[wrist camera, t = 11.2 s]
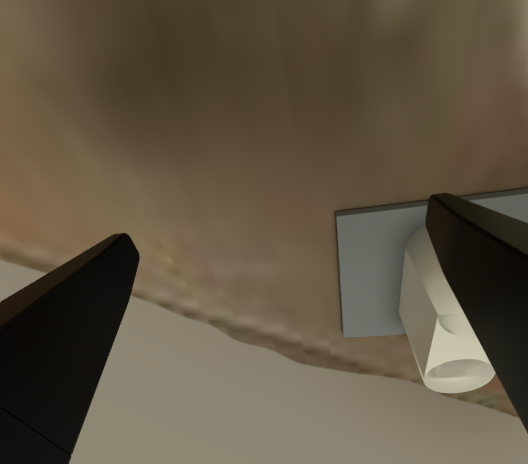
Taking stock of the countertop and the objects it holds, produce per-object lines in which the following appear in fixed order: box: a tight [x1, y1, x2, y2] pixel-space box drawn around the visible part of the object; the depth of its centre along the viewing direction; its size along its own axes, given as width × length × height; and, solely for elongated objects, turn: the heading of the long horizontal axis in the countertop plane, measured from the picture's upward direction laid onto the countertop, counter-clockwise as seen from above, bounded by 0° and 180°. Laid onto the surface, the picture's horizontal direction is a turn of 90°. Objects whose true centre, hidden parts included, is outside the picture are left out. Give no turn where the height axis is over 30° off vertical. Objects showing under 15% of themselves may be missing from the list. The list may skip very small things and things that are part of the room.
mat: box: [336, 188, 528, 338], centre depth 24 cm, size 14×14×1 cm
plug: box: [399, 225, 495, 393], centre depth 22 cm, size 4×14×6 cm, turn 11°
